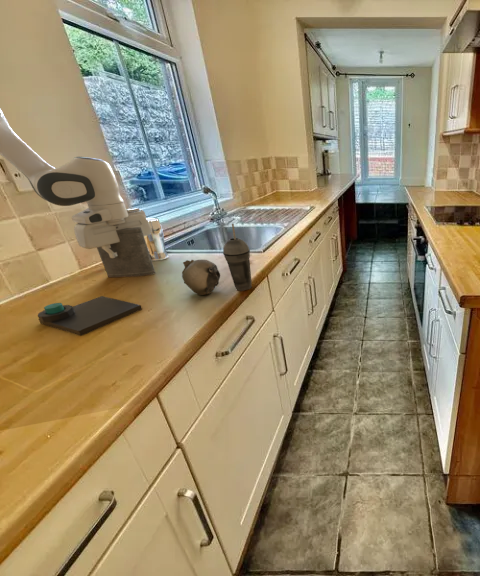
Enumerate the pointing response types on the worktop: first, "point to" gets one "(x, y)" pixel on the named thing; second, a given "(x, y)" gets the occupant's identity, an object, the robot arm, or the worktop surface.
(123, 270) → the flask
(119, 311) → the scale
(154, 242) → the chrome pepper mill
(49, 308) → the tare button
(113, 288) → the worktop surface
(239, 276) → the beverage cup
